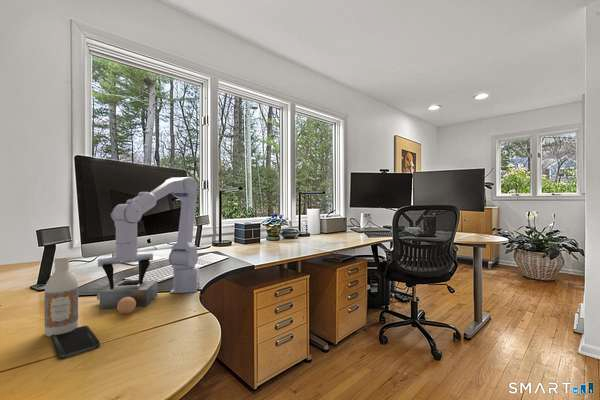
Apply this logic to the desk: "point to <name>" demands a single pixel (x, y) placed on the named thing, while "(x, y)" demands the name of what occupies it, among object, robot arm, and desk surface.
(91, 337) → the phone
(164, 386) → the desk surface
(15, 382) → the desk surface
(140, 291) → the grey box with opening
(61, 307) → the bath foam
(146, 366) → the desk surface
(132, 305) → the bead
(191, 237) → the robot arm
